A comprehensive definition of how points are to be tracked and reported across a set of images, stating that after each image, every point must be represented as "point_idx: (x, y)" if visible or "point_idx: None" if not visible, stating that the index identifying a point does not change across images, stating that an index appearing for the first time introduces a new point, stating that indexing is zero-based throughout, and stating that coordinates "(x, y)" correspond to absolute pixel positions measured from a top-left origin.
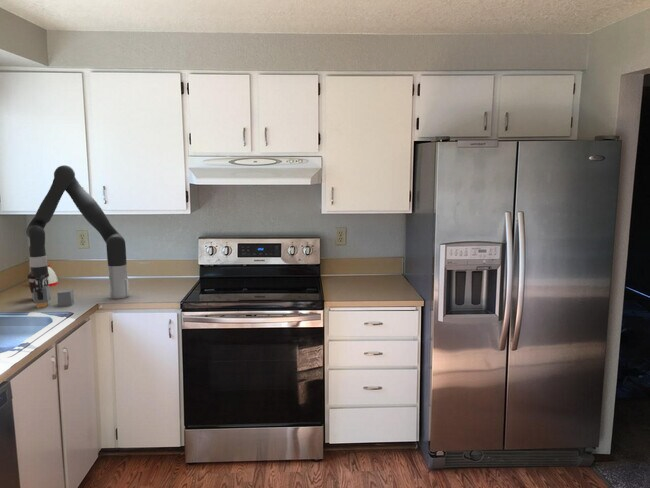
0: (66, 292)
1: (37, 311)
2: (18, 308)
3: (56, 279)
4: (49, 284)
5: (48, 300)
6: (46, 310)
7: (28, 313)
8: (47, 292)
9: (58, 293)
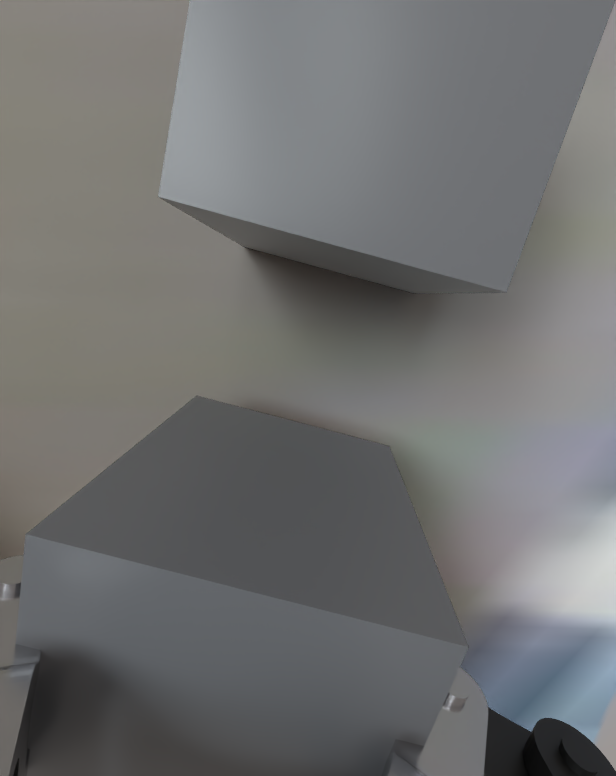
0: (611, 4)
1: (526, 539)
2: None
3: None
4: None
5: (339, 439)
6: (545, 445)
7: (560, 623)
8: (359, 523)
9: (507, 261)
